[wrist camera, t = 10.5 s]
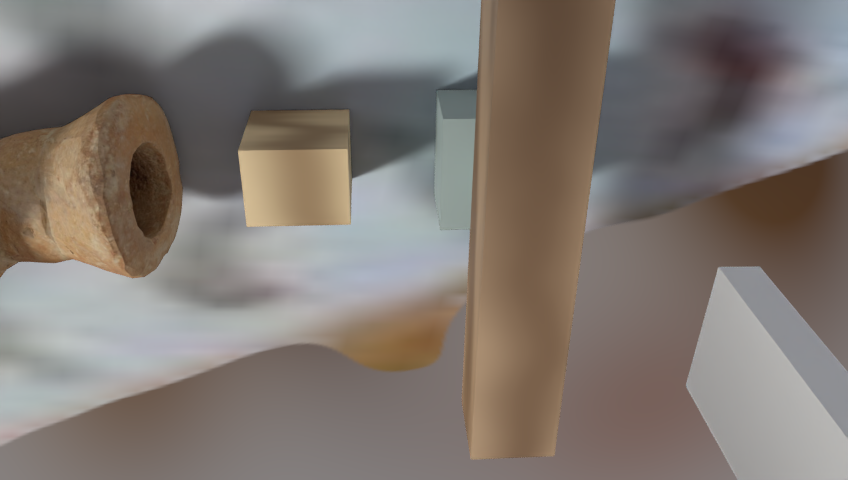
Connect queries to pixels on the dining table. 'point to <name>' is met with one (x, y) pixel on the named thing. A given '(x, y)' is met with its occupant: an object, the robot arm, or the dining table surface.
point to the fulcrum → (454, 157)
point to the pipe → (92, 190)
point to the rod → (529, 214)
